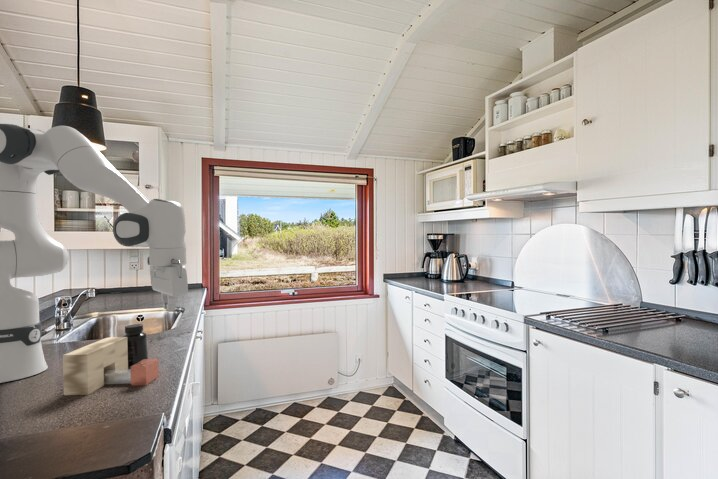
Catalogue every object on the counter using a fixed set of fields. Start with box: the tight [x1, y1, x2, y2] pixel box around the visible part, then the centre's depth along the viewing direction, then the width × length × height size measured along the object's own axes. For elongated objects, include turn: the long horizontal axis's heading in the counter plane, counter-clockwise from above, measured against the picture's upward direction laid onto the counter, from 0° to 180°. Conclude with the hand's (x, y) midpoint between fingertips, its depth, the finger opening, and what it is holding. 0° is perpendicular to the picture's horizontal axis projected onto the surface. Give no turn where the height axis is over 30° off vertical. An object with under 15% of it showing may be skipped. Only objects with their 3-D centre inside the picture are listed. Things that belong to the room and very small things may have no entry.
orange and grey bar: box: [104, 358, 159, 387], centre depth 98 cm, size 14×6×5 cm, turn 91°
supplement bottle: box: [122, 323, 149, 369], centre depth 112 cm, size 7×7×12 cm
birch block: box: [62, 336, 129, 396], centre depth 98 cm, size 6×16×10 cm, turn 1°
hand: (169, 309), depth 98 cm, fingers closed
